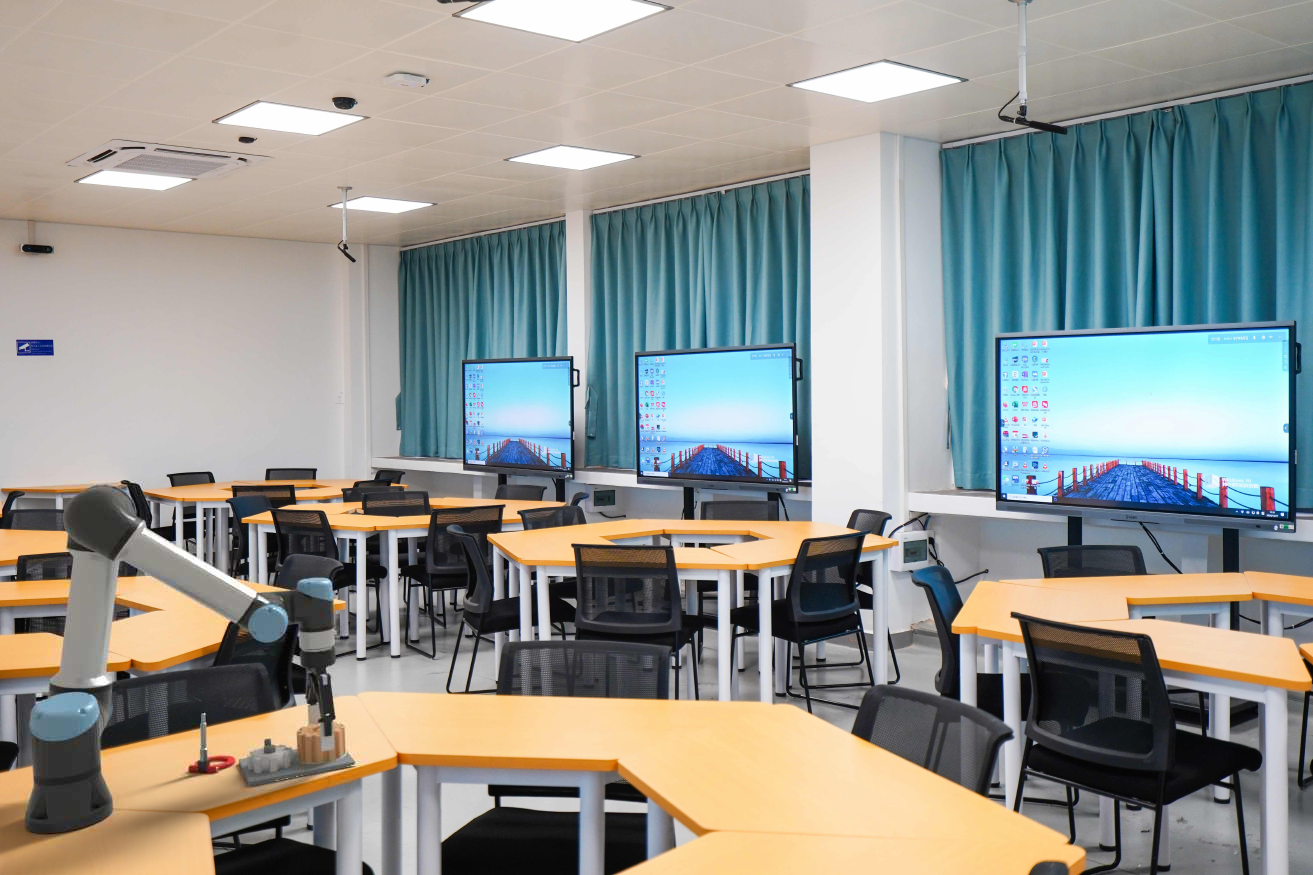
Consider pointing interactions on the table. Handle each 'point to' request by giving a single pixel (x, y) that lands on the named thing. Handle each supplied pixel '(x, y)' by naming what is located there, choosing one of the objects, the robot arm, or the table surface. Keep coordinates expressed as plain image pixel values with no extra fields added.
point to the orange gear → (319, 744)
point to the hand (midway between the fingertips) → (321, 741)
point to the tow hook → (204, 761)
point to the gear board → (291, 769)
